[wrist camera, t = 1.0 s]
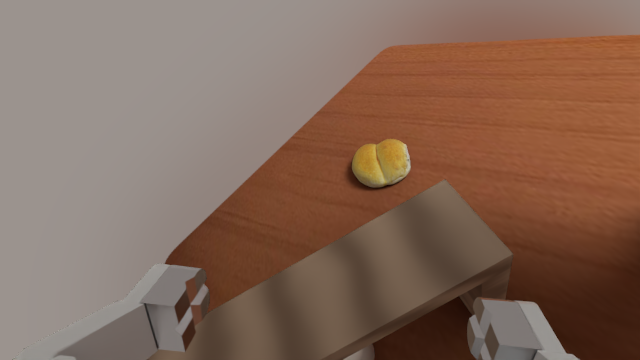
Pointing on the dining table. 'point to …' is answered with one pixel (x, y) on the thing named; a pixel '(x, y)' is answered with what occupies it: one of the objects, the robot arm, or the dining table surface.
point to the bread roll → (381, 163)
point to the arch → (360, 286)
